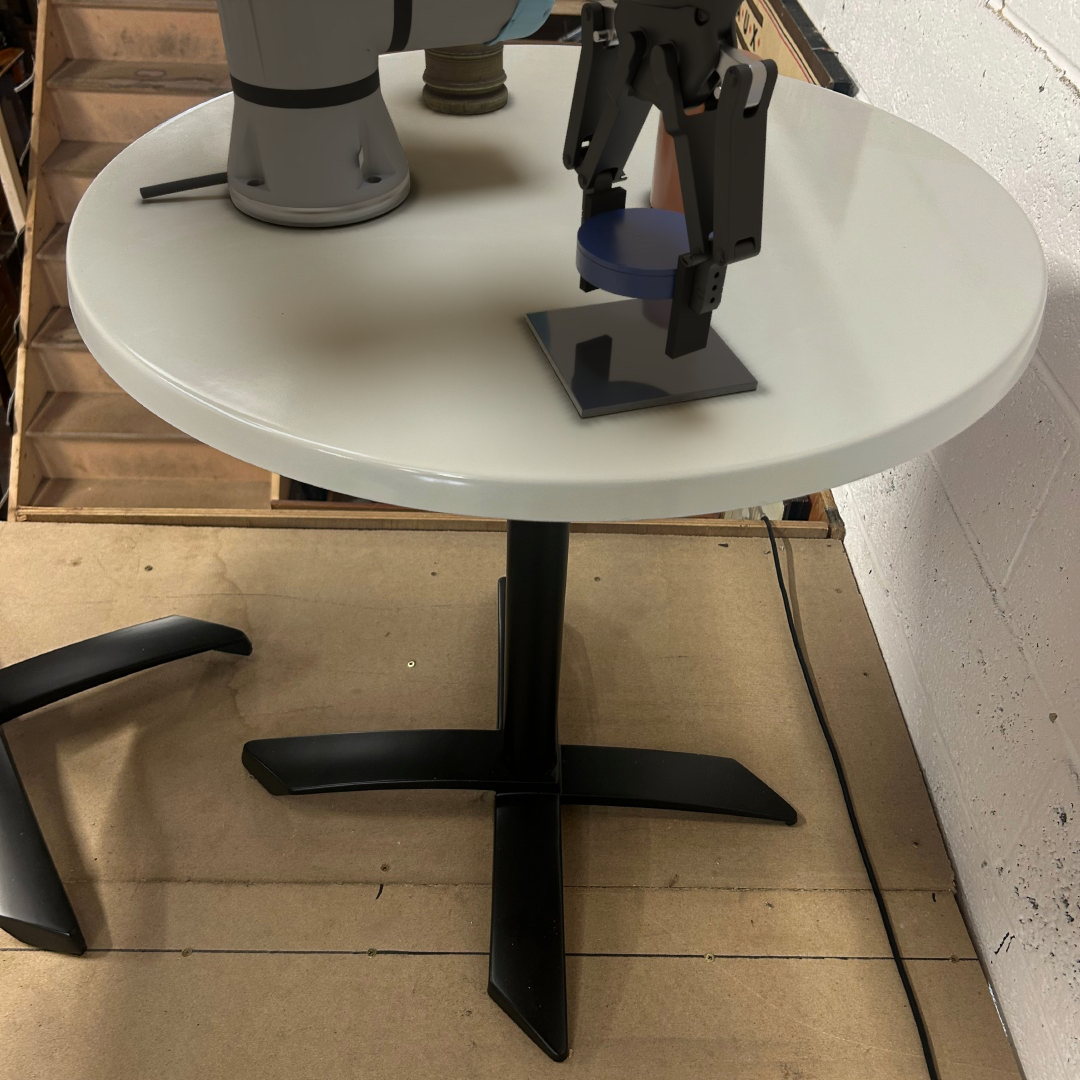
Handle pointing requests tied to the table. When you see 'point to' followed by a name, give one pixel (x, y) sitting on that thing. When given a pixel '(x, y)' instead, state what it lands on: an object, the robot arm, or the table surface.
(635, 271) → the lid
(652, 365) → the coaster
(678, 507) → the table surface
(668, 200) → the jar
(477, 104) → the container
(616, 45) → the robot arm
